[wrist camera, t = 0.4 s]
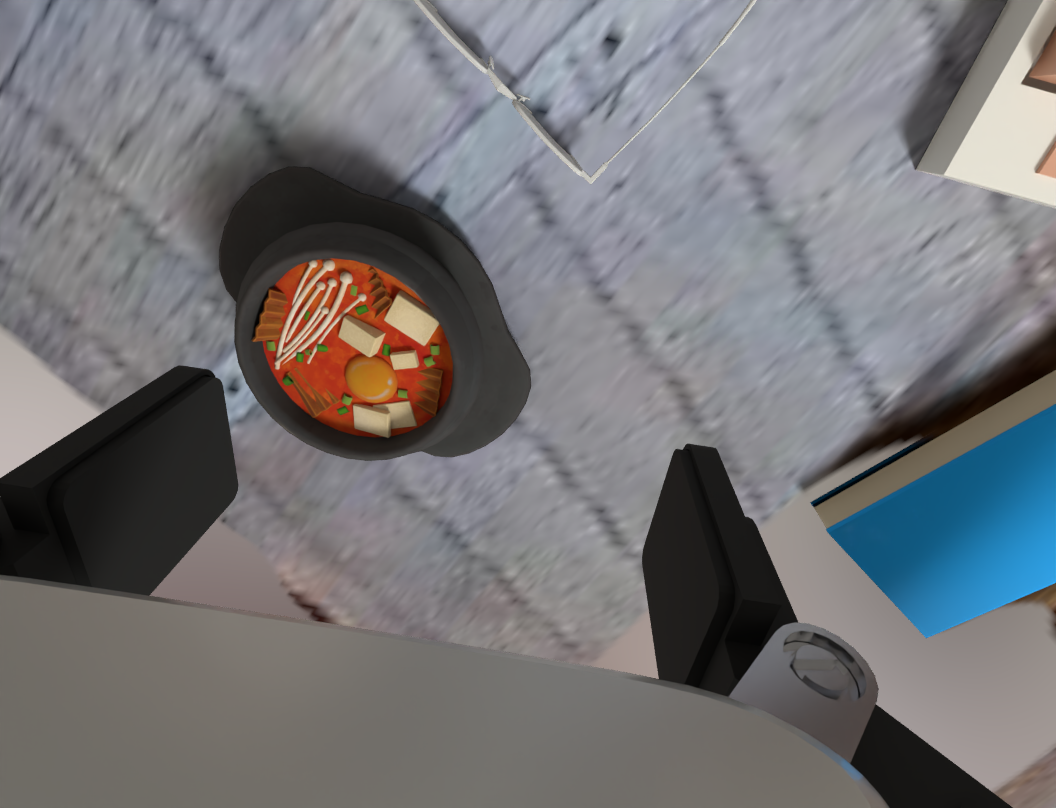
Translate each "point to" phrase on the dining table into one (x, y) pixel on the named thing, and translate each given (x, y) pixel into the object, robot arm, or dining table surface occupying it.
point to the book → (958, 514)
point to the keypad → (1004, 113)
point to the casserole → (366, 322)
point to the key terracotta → (1046, 63)
